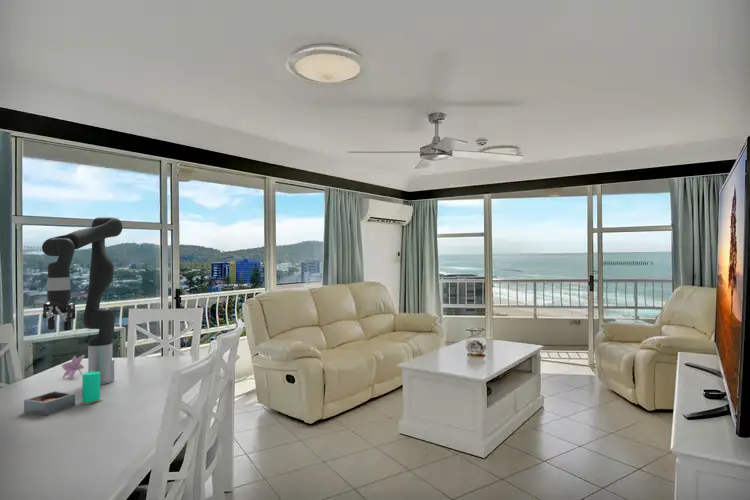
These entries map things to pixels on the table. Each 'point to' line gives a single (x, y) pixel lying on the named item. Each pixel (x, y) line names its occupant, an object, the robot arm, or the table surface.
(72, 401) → the gray open box
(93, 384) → the candle
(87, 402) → the coaster
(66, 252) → the robot arm
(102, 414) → the table surface
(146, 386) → the table surface
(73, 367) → the lily
